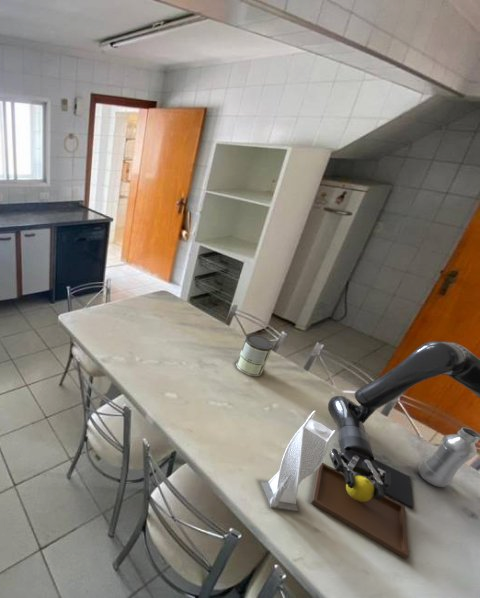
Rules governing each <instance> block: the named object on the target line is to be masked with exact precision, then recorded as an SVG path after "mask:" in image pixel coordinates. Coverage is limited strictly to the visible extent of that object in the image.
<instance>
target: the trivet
mask: <svg viewBox="0 0 480 598" xmlns="http://www.w3.org/2000/svg"><path fill="white" fill-rule="evenodd" d="M374 462H375V464H376V465H377V466H378V468H379V469H381V470H383V471H385V470H389V471H390V472H391V486H390V487H389V488H388V489H387V491H384V494H385V496H387V497H389V498H390V499H392V500H394V501H396V502H398V503H400V504H402V505H404V506H405V507H408V508H410V509H413V508H414V504H413V494H412V484H411V476H410V475H407V474H405V473H403V472H401V471H399V470H397V469H395V468H393V467H391V466H389V465H387V464H385V463H383V462H381V461H379V460H376V459H375V458H374ZM357 476H363V477H364V475H362V474H360V473H358V475H357ZM378 477H379V474H378ZM380 480H381V478H380ZM375 482H376V481H375Z"/></svg>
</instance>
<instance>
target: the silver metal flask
mask: <svg viewBox="0 0 480 598" xmlns="http://www.w3.org/2000/svg"><path fill="white" fill-rule="evenodd" d="M479 441H480V434H479V433H478V432H477V431H475V430H474V429H471V428H469V427H464V426H463V427H461V428H460V429H458V431H456V433H449V434H445V435H444V436H443V437H442V438H441V440H440V442H439V445H438V447H437V448H436V450H435V451H434V453H433V454H431V456H429V458H427V459H426V460H424V461H422V462H421V463H420V464H419V467H418V468H417V469H418V470H417V471H418V473H419V475H420V477H421V478H422V479H423V480H424V481H426V482H427V483H428V484H430V485H433V486H435V487H439V488H445V487H447V486H449V485H450V484H451V483H452V482H453V479H454V476H455V475H456V474H457V472H458V470H459V469H460V468H461V467H462V466H463V465H465V464H466V463H468V462H469V461H470V460H472V459H473V458H474V457H475V456H477V452H478V449H477V446H476V444H478V443H479Z"/></svg>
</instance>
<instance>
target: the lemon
mask: <svg viewBox="0 0 480 598" xmlns="http://www.w3.org/2000/svg"><path fill="white" fill-rule="evenodd" d="M354 480H355V485H354V486H353V488H350V487H348V485H347V484H346V490H347V492H348V494H349V495H350V496H351V497H352V498H353V499H355V500H357V501H360V502H366V501H368V500H370V499H371V498H372V497H373V495H374V486H373V484H372V483H371V482H370V481H369V480H368V479H367V478H365V477H363V476H358V475H354Z"/></svg>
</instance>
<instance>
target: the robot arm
mask: <svg viewBox="0 0 480 598" xmlns="http://www.w3.org/2000/svg"><path fill="white" fill-rule="evenodd" d="M438 376H448V377H449V378H451V379H452V380H454V381H455V382H457V383H458V384H460V385H462V386H463V387H464V388H466V389H468V391H471V392H472V393H473V394H474V395H475V396H476V397H477V398H478V399H480V358H479V357H478V356H477V355H475V354H474V353H473V352H471V351H470V350H469V349H467V348H466V347H464V346H462V345H461V344H458V343H456V342H453V341H442V340H441V341H439V340H434V341H428V342H424V343H423V344H421V345H420V346H419V347H417V348H416V349H415V350H414V351H413V352H412V353H410V354H409V355H408V356H407V357H406V358H404V360H403V361H401V362H400V363H399V364H398V365H396V366H395V367H393V368H392V369H390V370H389V371H387V372H386V373H384V374H383V375H381V376H380V377H377V378H376V379H374V380H372V381H371V382H369V383H367V384H366V385H364V386H362V387H360V388H358V389H357V390H356V391H354V394H353V395H354V399H355V400H356V401H357V403H358V404H359V405H358V404H357V403H355V402H353V401H352V400H350V399H349V398H348V397H346V396H343V395H335V396H333V397H331V398H330V399H329V401H328V403H327V410H328V413H329V415H330V416H331V418H332V421H333V422H334V423H335V425H336V429H337V440H338V441H337V442H338V445H339V450H337V449H336V448H332V450H331V451H330V452H329V458H330V460H331V463H332V465H333V468H334V469H335V470H336V471H338V472H341V473H343V475H344V477H345V482H346V484H347V485H348V487H350V488H353V486H354V485H355V480H354V476H355V475H354V473H358V474H359V473H360V474H362V475H364V477H365V478H367V479H368V480H369V481H370V482H371V483H372V484H373V486H374V495H375V499H377V500H380V499H382V498H383V497H384V495H385V494H384V491H387V489H388V488H389V487H390V486H391V472H390V471H389V470H385V471H383V470H381V469H379V468H378V466H377V465H376V464H375V462H374V459H375V456H374V452H373V449H372V445H371V442H370V438H369V436H368V434H367V431H366V426H365V425H364V423H366V422H367V420H368V419H369V418H370V417H371V416H372V415H373V414H374V413H375V412H376V411H377V410H378V409H380V408H382V407H384V406H386V405H388V404H390V403H391V402H393V401H395V400H397V399H398V398H399V397H401V396H402V395H403V394H405V393H406V392H407V391H408V390H409V389H411V388H412V387H414V386H416V385H417V384H419V383H421V382H424V381H426V380H429V379H432V378H435V377H438ZM339 451H340V452H339ZM344 464H345V465H346V466H345V465H344ZM353 472H354V473H353ZM378 474H379V477H378ZM380 478H381V480H380ZM375 481H376V482H375ZM385 496H386V495H385Z"/></svg>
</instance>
